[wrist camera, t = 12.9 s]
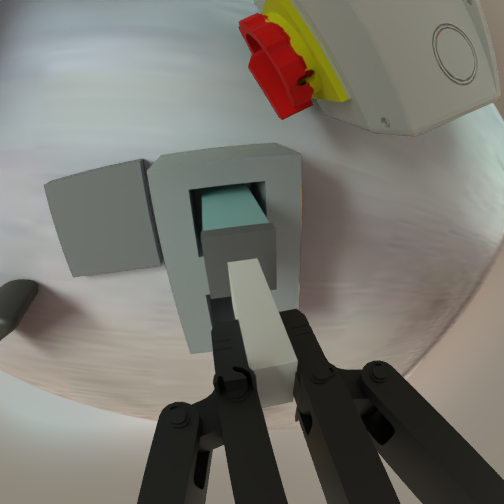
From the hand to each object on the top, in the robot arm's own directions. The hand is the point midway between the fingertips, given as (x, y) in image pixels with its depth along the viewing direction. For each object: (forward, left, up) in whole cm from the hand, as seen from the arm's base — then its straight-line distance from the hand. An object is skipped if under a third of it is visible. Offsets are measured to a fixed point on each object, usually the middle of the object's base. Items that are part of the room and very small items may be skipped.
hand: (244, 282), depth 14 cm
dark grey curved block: (+11, -35, -17) cm, 40 cm away
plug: (0, 0, -16) cm, 16 cm away
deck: (+1, -14, -17) cm, 22 cm away
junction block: (+5, 0, -17) cm, 18 cm away
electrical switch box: (-15, +10, -17) cm, 25 cm away
